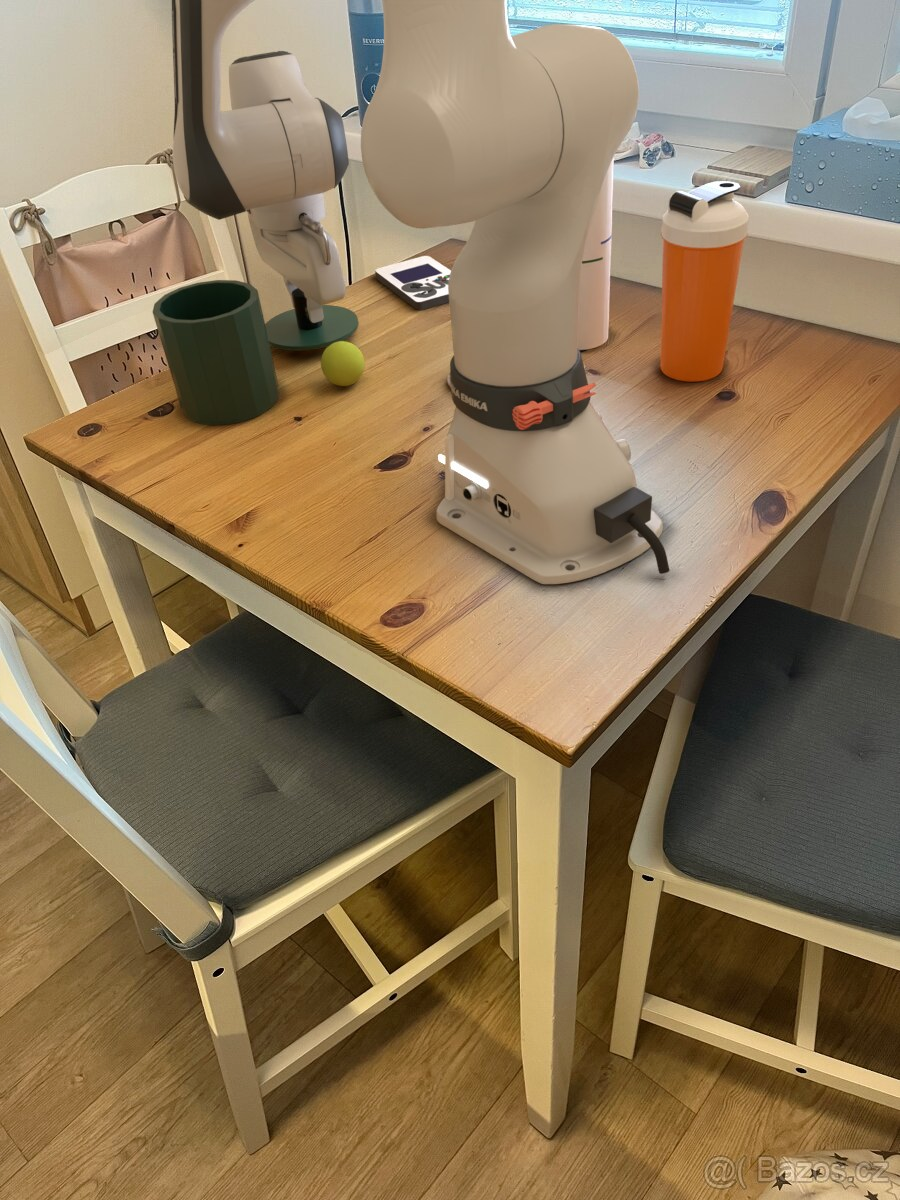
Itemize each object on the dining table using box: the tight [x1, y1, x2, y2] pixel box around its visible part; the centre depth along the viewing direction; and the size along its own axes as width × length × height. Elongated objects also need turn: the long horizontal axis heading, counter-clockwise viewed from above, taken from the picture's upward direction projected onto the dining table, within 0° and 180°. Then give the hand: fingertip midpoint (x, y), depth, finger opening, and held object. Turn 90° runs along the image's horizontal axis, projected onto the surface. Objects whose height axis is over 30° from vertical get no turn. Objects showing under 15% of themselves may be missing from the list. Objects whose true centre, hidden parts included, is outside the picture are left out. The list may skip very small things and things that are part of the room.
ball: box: [320, 340, 366, 387], centre depth 112 cm, size 5×5×5 cm
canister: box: [152, 279, 280, 426], centre depth 108 cm, size 12×12×12 cm
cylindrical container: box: [577, 156, 615, 351], centre depth 110 cm, size 7×7×25 cm
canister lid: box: [265, 288, 359, 352], centre depth 121 cm, size 13×13×6 cm
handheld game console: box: [374, 255, 452, 311], centre depth 134 cm, size 9×15×1 cm, turn 27°
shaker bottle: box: [660, 180, 750, 383], centre depth 103 cm, size 9×9×20 cm
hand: (308, 314), depth 122 cm, fingers closed on canister lid, 3 cm apart
